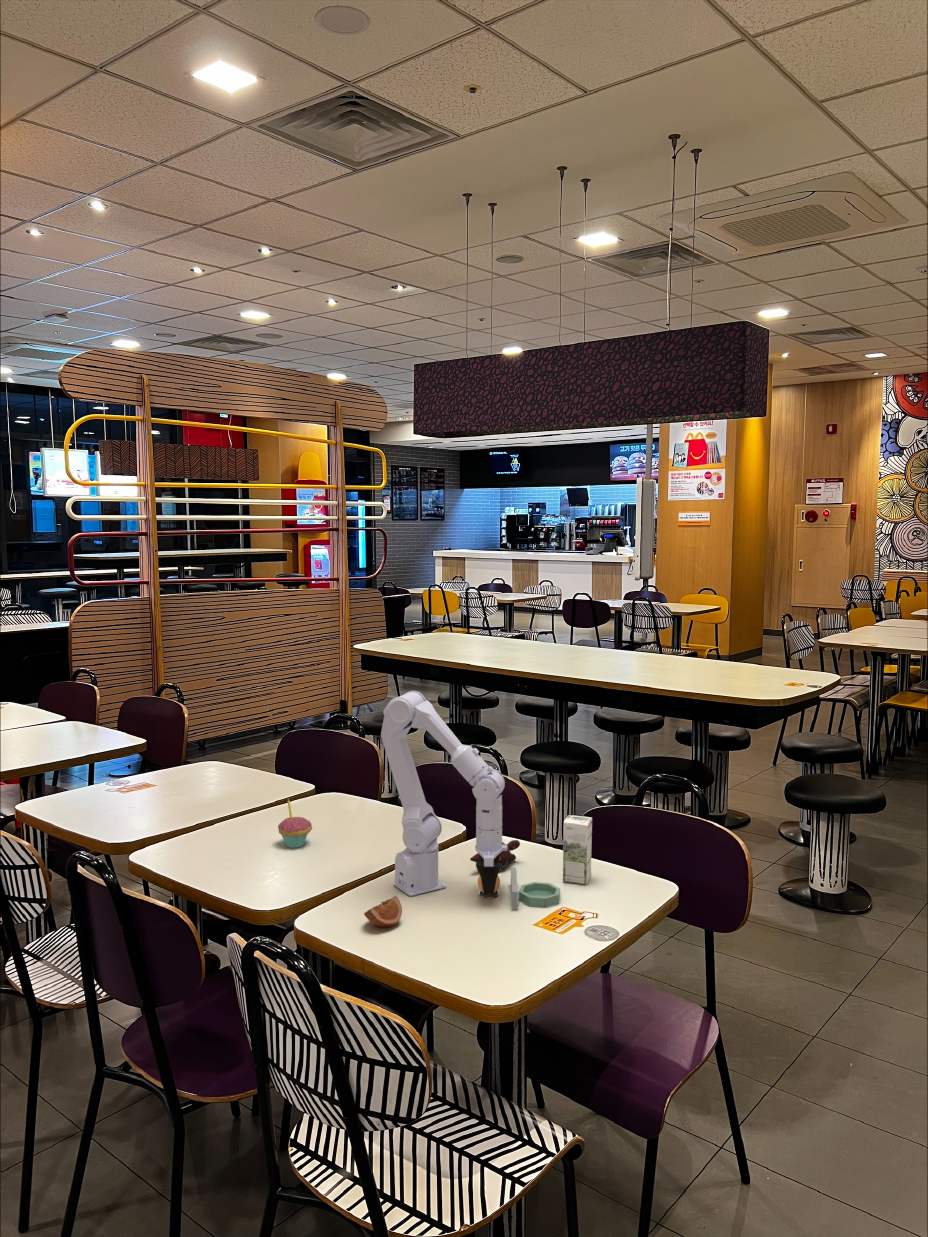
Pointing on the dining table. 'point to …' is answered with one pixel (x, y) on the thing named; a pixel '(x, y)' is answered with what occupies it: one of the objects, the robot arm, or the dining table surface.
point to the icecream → (503, 853)
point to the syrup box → (577, 849)
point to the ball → (495, 885)
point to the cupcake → (294, 830)
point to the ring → (488, 894)
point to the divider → (514, 888)
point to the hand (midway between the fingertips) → (489, 886)
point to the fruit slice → (385, 913)
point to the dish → (539, 894)
